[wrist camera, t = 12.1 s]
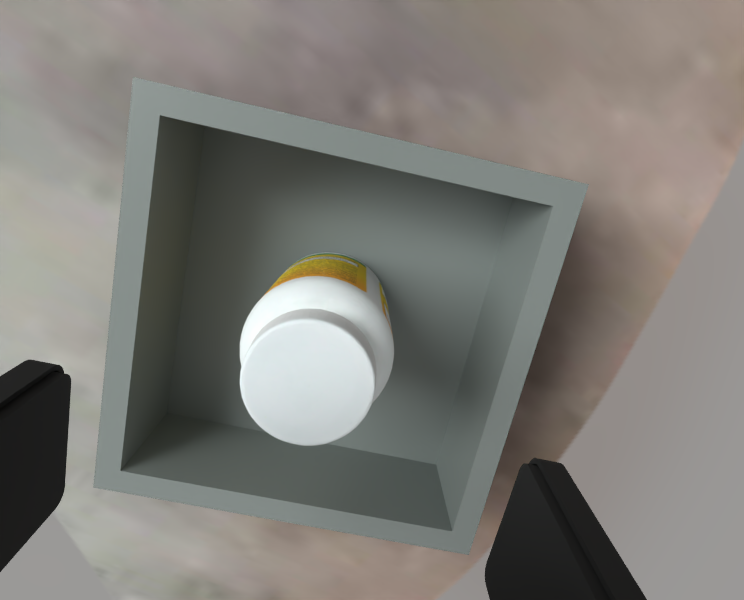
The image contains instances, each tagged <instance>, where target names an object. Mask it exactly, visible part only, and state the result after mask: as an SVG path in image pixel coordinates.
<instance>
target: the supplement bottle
mask: <svg viewBox="0 0 744 600" xmlns="http://www.w3.org/2000/svg"><path fill="white" fill-rule="evenodd" d="M393 360H394V342H393V334H392V329H391V323H390V317H389V311H388V305H387V300H386V296H385V293H384V290H383V287H382V285H381V283H380V281H379V279H378V278H377V276H376V275H375V274H374V273H373V272H372V270H371V269H370V268H369V267H367V266H366V265H365V264H363V263H362V262H361V261H359V260H357V259H355V258H353V257H350V256H347V255H344V254H339V253H329V252H325V253H316V254H312V255H309V256H306V257H304V258H302V259H300V260H298V261H297V262H295V263H294V264H293V265H291V266H290V267H289V268H288V269H287V270H286V271H285V272H284V273H283V274H282V275H281V276H280V277H279V278H278V279H277V281H276V282H275V283H274V284H273V285H272V286H271V288H270V289H269V290H268V291H267V292H266V293H265V294H264V296H263V297H262V298H261V299H260V300H259V301H258V302H257V304H256V305H255V306H254V308H253V309H252V310H251V312H250V314H249V316H248V317H247V319H246V322H245V324H244V327H243V330H242V334H241V339H240V362H241V371H240V390H241V395H242V399H243V402H244V404H245V406H246V409H247V410H248V412H249V414H250V416H251V417H252V418H253V419H254V421H255V422H256V423H257V424H258V425H259V426H260V427H261V428H262V429H263V430H265V431H266V432H267V433H269V434H270V435H272V436H274V437H275V438H277V439H279V440H282V441H284V442H288V443H292V444H297V445H303V446H315V445H322V444H326V443H330V442H333V441H335V440H337V439H340V438H342V437H343V436H345V435H347V434H348V433H350V432H351V431H352V430H354V429H355V428H356V427H357V426H358V425H359V424H360V423H361V422H362V420H363V419H364V418H365V416H366V415H367V413H368V411H369V409H370V407H371V404H372V403H373V402H374V401H375V400H376V398H377V397H378V396H379V395H380V393H381V392H382V390H383V389H384V387H385V385H386V383H387V381H388V379H389V376H390V374H391V370H392V365H393Z"/></svg>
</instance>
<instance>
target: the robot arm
mask: <svg viewBox="0 0 744 600" xmlns="http://www.w3.org/2000/svg"><path fill="white" fill-rule="evenodd" d="M70 392H71V378H70V376H69V375H68V374H64V371H63V368H62V367H61V366H60V365H55V364H50V363H45V362H40V361H35V360H27V361H24V362H23V363H21V364H19V365H18V366H16V367H15V368H13V369H11V370H10V371H8V372H6V373H5V374H3V375H2V376H0V572H1V571H2V569H3V568H4V567H5V566H6V565H7V564H8V562H9V561H10V560H11V559H12V558H13V557H14V556H15V554H16V553H17V552H18V551H19V550H20V549H21V548H22V547H23V545H24V544H25V543H26V542H27V541H28V540H29V538H30V537H31V536H32V535H33V534H34V533H35V532H36V530H37V529H38V528H39V527H40V526H41V525H42V523H43V522H44V521H45V520H46V519H47V518H48V517H49V516H50V514H51V513H52V512H53V511H54V510H55V509H56V507H57V506H58V504H59V503H60V501H61V498H62V496H63V493H64V488H65V474H66V457H67V441H68V425H69V408H70ZM485 582H486V587H487V590H488V594H489V598H490V600H647V599H646V598H645V596H644V594H643V593H642V591H641V589H640V588H639V586H638V585H637V583H636V581H635V580H634V578H633V577H632V575H631V573H630V572H629V570H628V568H627V567H626V565H625V564H624V562H623V560H622V559H621V557H620V556H619V554H618V552H617V551H616V549H615V547H614V546H613V544H612V543H611V541H610V539H609V538H608V536H607V535H606V533H605V531H604V530H603V528H602V526H601V525H600V524H599V522H598V520H597V518H596V517H595V515H594V514H593V512H592V510H591V509H590V507H589V506H588V504H587V502H586V501H585V499H584V497H583V496H582V494H581V492H580V491H579V489H578V488H577V486H576V484H575V483H574V482H573V480H572V478H571V476H570V475H569V473H568V471H567V470H566V468H565V467H564V466H563V465H562V464H561V463H557V462H552V461H547V460H542V459H537V458H534V459H532V460H531V461H530V463H529V464H526V463H525V464H523V465H522V466H521V468H520V470H519V473H518V476H517V479H516V481H515V484H514V487H513V490H512V493H511V496H510V498H509V501H508V504H507V507H506V510H505V513H504V515H503V518H502V521H501V524H500V527H499V529H498V532H497V535H496V538H495V541H494V544H493V546H492V549H491V552H490V555H489V558H488V560H487V564H486V568H485Z"/></svg>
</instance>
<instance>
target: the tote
mask: <svg viewBox="0 0 744 600" xmlns="http://www.w3.org/2000/svg"><path fill="white" fill-rule="evenodd" d="M588 185H589V184H584V183H580V182H576V181H572V180H568V179H563V178H559V177H555V176H551V175H546V174H542V173H538V172H534V171H529V170H525V169H521V168H517V167H512V166H508V165H504V164H500V163H495V162H491V161H487V160H483V159H479V158H474V157H470V156H466V155H462V154H457V153H453V152H449V151H445V150H440V149H436V148H432V147H428V146H423V145H419V144H415V143H411V142H406V141H402V140H398V139H394V138H390V137H385V136H381V135H377V134H373V133H368V132H364V131H360V130H356V129H351V128H347V127H343V126H339V125H334V124H330V123H326V122H322V121H318V120H313V119H309V118H305V117H301V116H296V115H292V114H288V113H284V112H279V111H275V110H271V109H267V108H262V107H258V106H254V105H250V104H245V103H241V102H237V101H233V100H229V99H224V98H220V97H216V96H212V95H207V94H203V93H199V92H195V91H190V90H186V89H182V88H178V87H173V86H169V85H165V84H161V83H156V82H152V81H148V80H144V79H140V78H135V77H133V82H132V93H131V103H130V113H129V124H128V134H127V144H126V155H125V165H124V176H123V186H122V196H121V207H120V217H119V227H118V238H117V248H116V258H115V269H114V279H113V289H112V300H111V310H110V321H109V331H108V341H107V352H106V362H105V372H104V383H103V393H102V403H101V414H100V424H99V434H98V445H97V455H96V466H95V476H94V486H93V487H94V488H99V489H105V490H111V491H116V492H122V493H127V494H133V495H138V496H144V497H150V498H155V499H161V500H166V501H172V502H177V503H183V504H188V505H194V506H200V507H205V508H211V509H216V510H222V511H227V512H233V513H238V514H244V515H250V516H255V517H261V518H266V519H272V520H277V521H283V522H289V523H294V524H300V525H305V526H311V527H316V528H322V529H327V530H333V531H339V532H344V533H350V534H355V535H361V536H366V537H372V538H378V539H383V540H389V541H394V542H400V543H405V544H411V545H416V546H422V547H428V548H433V549H439V550H444V551H450V552H455V553H461V554H466V555H469V552H470V549H471V546H472V543H473V540H474V537H475V534H476V531H477V528H478V525H479V521H480V518H481V515H482V512H483V509H484V506H485V503H486V500H487V497H488V494H489V491H490V488H491V484H492V481H493V478H494V475H495V472H496V469H497V466H498V463H499V460H500V457H501V454H502V451H503V447H504V444H505V441H506V438H507V435H508V432H509V429H510V426H511V423H512V420H513V417H514V413H515V410H516V407H517V404H518V401H519V398H520V395H521V392H522V389H523V386H524V383H525V380H526V376H527V373H528V370H529V367H530V364H531V361H532V358H533V355H534V352H535V349H536V346H537V343H538V339H539V336H540V333H541V330H542V327H543V324H544V321H545V318H546V315H547V312H548V309H549V305H550V302H551V299H552V296H553V293H554V290H555V287H556V284H557V281H558V278H559V275H560V272H561V268H562V265H563V262H564V259H565V256H566V253H567V250H568V247H569V244H570V241H571V238H572V234H573V231H574V228H575V225H576V222H577V219H578V216H579V213H580V210H581V207H582V204H583V201H584V197H585V194H586V191H587V188H588ZM325 252H329V253H339V254H344V255H347V256H350V257H353V258H355V259H357V260H359V261H361V262H362V263H363V264H365V265H366V266H367V267H369V268H370V269H371V270H372V272H373V273H374V274H375V275H376V276H377V278H378V279H379V281H380V283H381V285H382V287H383V290H384V293H385V296H386V300H387V305H388V311H389V317H390V323H391V329H392V334H393V342H394V360H393V365H392V370H391V374H390V376H389V379H388V381H387V383H386V385H385V387H384V389H383V390H382V392H381V393H380V395H379V396H378V397H377V398H376V400H375V401H374V402H373V403H372V404H371V407H370V409H369V411H368V413H367V415H366V416H365V418H364V419H363V420H362V422H361V423H360V424H359V425H358V426H357V427H356V428H355V429H354V430H352V431H351V432H350V433H348V434H347V435H345V436H343V437H342V438H340V439H337V440H335V441H333V442H330V443H326V444H322V445H315V446H303V445H297V444H292V443H288V442H284V441H282V440H279V439H277V438H275V437H274V436H272V435H270V434H269V433H267V432H266V431H265V430H263V429H262V428H261V427H260V426H259V425H258V424H257V423H256V422H255V421H254V419H253V418H252V417H251V416H250V414H249V412H248V410H247V409H246V406H245V404H244V402H243V399H242V395H241V390H240V371H241V362H240V339H241V334H242V330H243V327H244V324H245V322H246V319H247V317H248V316H249V314H250V312H251V310H252V309H253V308H254V306H255V305H256V304H257V302H258V301H259V300H260V299H261V298H262V297H263V296H264V294H265V293H266V292H267V291H268V290H269V289H270V288H271V286H272V285H273V284H274V283H275V282H276V281H277V279H278V278H279V277H280V276H281V275H282V274H283V273H284V272H285V271H286V270H287V269H288V268H289V267H290V266H291V265H293V264H294V263H295V262H297V261H298V260H300V259H302V258H304V257H306V256H309V255H312V254H316V253H325Z"/></svg>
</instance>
